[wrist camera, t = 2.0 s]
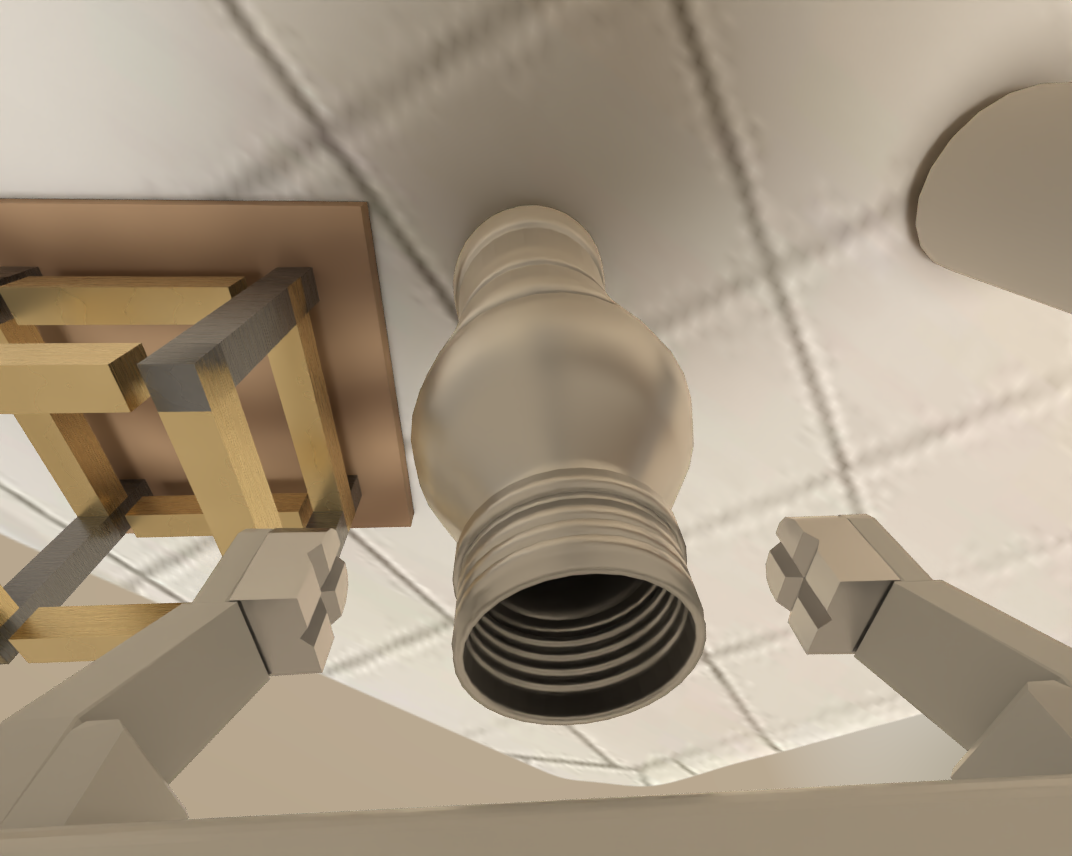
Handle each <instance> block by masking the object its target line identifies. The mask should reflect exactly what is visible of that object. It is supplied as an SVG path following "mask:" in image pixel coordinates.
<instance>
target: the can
mask: <svg viewBox="0 0 1072 856" xmlns="http://www.w3.org/2000/svg"><path fill="white" fill-rule="evenodd" d="M916 229H917V233H918V238H919V242H920V246H921V248H922V249H923V250H924V252H925V253H926V254H927V255H928V257H929V258H930V259H931V260H932V262H934V263H936V264H938V265H940V266H942V267H945V268H947V269H949V270H951V271H954V272H957V273H959V274H962V275H965V276H968V277H970V278H973V279H976V280H979V281H982V282H984V283H987V284H990V285H993V286H995V287H998V288H1001V289H1004V290H1007V291H1009V292H1012V293H1015V294H1018V295H1020V296H1023V297H1026V298H1029V299H1031V300H1034V301H1037V302H1040V303H1043V304H1045V305H1048V306H1051V307H1054V308H1056V309H1059V310H1062V311H1065V312H1068V313H1070V314H1072V82H1064V83H1044V84H1038V85H1034V86H1031V87H1028V88H1025V89H1021V90H1018V91H1015V92H1011V93H1009V94H1007V95H1006V96H1004V97H1002V98H1001V99H999V100H997V101H996V102H994V103H993V104H991V105H989V106H988V107H986V108H984V109H983V110H981V111H980V112H978V113H977V114H976V115H975V116H974V117H973V118H972V119H971V120H970V121H969V122H968V123H967V124H966V125H965V126H964V127H963V128H961V129H960V130H959V131H958V132H957V133H956V134H955V135H954V136H953V137H952V138H951V140H950V141H949V142H948V144H947V145H946V147H945V148H944V150H943V151H942V152H941V154H940V155H939V157H938V158H937V160H936V161H935V163H934V164H933V165H932V167H931V169H930V171H929V174H928V176H927V179H926V181H925V184H924V186H923V188H922V191H921V193H920V196H919V200H918V208H917V216H916Z"/></svg>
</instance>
